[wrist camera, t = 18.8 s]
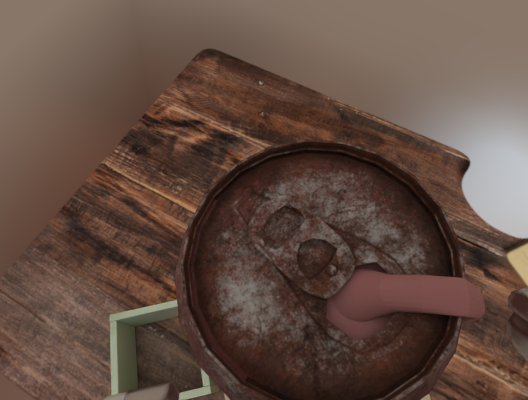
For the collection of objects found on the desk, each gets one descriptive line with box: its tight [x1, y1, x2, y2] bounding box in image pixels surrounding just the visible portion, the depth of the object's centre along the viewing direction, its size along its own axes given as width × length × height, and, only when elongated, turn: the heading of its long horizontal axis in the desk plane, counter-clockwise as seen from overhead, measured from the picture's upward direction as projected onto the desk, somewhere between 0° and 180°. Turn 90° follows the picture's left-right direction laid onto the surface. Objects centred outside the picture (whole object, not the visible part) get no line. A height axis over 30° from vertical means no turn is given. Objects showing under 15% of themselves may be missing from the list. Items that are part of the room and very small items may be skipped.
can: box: [175, 139, 485, 400], centre depth 13 cm, size 6×6×14 cm
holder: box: [110, 300, 220, 400], centre depth 43 cm, size 11×11×6 cm
